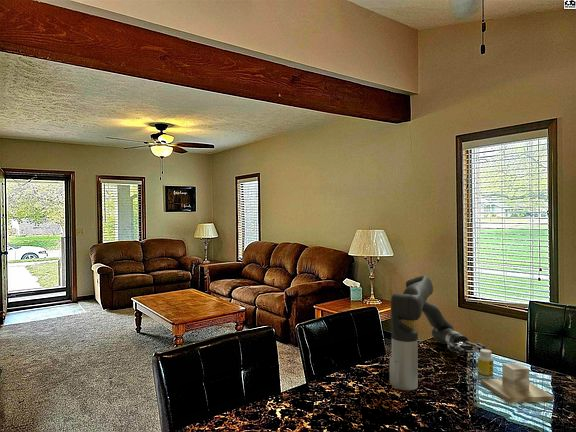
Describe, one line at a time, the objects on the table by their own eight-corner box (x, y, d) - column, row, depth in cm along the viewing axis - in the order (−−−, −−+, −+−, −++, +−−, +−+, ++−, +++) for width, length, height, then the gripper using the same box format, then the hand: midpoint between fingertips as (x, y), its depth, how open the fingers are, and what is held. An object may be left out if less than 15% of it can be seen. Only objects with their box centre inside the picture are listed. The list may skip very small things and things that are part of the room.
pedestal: (508, 402, 138) (508, 375, 138) (481, 383, 154) (481, 359, 154) (553, 400, 140) (553, 373, 140) (521, 381, 156) (521, 357, 156)
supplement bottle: (491, 379, 158) (491, 353, 158) (476, 376, 161) (476, 351, 161) (494, 375, 162) (494, 350, 162) (479, 372, 165) (479, 347, 165)
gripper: (441, 332, 187) (456, 343, 171) (472, 332, 187) (491, 343, 171) (441, 349, 187) (456, 361, 171) (472, 349, 187) (491, 361, 171)
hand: (473, 352), depth 171 cm, fingers open, 8 cm apart
